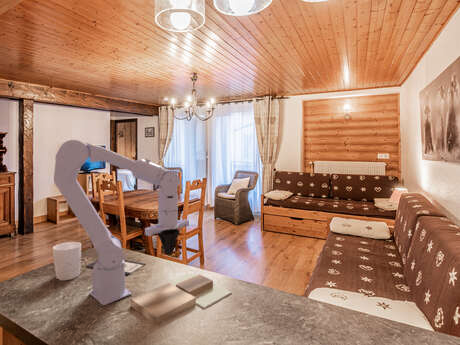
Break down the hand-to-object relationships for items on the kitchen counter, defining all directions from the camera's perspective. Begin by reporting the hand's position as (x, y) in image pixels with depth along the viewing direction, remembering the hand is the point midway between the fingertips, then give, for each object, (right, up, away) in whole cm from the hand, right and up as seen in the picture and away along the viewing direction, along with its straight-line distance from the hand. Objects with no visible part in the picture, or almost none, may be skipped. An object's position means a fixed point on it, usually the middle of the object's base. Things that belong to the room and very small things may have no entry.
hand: (168, 253), depth 84 cm
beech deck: (+1, -10, -11) cm, 15 cm away
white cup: (-34, -9, +5) cm, 35 cm away
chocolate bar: (-21, -9, +13) cm, 27 cm away
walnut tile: (+8, -9, -3) cm, 13 cm away
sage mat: (+9, -10, -3) cm, 13 cm away
